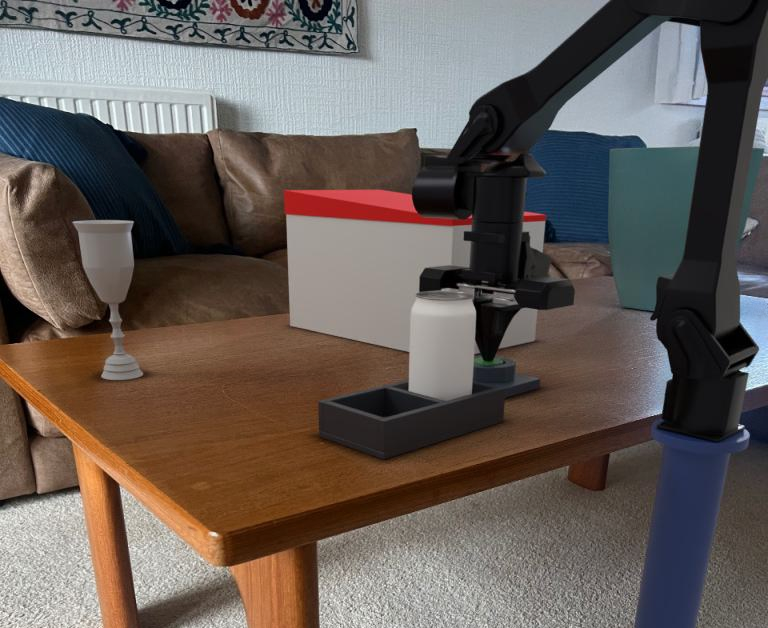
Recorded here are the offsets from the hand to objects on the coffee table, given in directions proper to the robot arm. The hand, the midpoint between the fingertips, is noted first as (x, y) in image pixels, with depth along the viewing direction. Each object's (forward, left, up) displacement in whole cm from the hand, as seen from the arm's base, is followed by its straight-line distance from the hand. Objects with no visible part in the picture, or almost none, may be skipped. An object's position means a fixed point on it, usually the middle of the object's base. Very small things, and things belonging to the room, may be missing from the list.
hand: (488, 360), depth 93 cm
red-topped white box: (+30, -17, -3) cm, 35 cm away
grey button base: (0, 0, -3) cm, 3 cm away
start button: (0, 0, -2) cm, 2 cm away
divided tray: (-6, +19, -3) cm, 20 cm away
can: (-6, +15, -2) cm, 16 cm away
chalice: (+34, +30, -3) cm, 45 cm away
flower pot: (+15, -73, -3) cm, 75 cm away
